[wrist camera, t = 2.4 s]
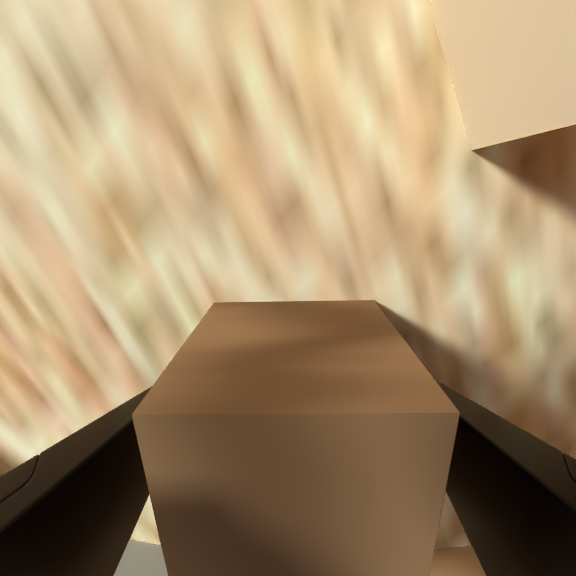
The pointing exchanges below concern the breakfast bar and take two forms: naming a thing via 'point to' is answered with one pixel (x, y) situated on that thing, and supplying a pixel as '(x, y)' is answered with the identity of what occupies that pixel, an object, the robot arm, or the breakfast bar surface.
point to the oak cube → (456, 562)
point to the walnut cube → (296, 445)
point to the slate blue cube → (142, 560)
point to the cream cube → (510, 65)
